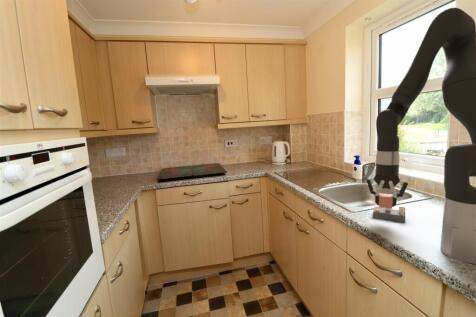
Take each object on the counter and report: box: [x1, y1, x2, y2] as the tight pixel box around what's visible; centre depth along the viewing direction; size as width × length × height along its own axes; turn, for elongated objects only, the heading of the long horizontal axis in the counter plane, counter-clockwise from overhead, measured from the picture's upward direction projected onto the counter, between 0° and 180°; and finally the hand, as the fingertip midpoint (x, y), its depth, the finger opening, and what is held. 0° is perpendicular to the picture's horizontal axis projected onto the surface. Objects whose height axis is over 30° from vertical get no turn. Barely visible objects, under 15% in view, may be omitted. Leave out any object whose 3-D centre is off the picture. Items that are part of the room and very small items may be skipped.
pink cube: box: [378, 192, 393, 209], centre depth 92 cm, size 4×4×4 cm
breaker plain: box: [398, 204, 406, 214], centre depth 95 cm, size 2×2×2 cm
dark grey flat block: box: [372, 206, 406, 223], centre depth 98 cm, size 6×11×3 cm, turn 55°
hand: (385, 205), depth 92 cm, fingers closed on pink cube, 4 cm apart
